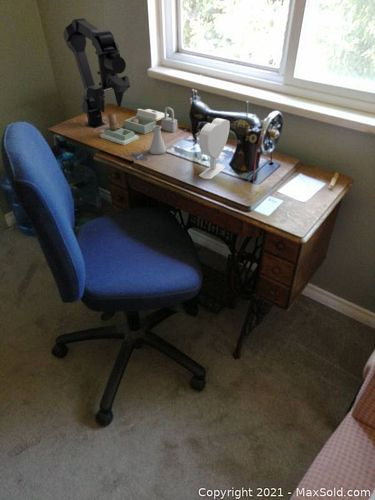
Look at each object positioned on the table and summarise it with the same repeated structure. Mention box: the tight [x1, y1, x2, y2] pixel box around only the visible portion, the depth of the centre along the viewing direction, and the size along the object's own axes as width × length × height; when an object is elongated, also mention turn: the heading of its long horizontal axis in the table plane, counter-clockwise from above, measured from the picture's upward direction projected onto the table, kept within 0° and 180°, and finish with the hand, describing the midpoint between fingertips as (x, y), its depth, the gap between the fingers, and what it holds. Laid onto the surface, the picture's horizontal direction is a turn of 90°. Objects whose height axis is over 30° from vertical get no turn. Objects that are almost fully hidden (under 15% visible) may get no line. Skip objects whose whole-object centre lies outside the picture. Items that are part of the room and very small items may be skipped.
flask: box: [148, 125, 168, 155], centre depth 147 cm, size 7×7×10 cm
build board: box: [99, 126, 140, 146], centre depth 160 cm, size 14×9×3 cm, turn 53°
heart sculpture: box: [198, 117, 231, 180], centre depth 132 cm, size 16×5×18 cm, turn 148°
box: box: [123, 115, 158, 135], centre depth 168 cm, size 12×8×4 cm, turn 53°
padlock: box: [160, 106, 178, 133], centre depth 166 cm, size 7×4×10 cm, turn 52°
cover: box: [135, 108, 170, 122], centre depth 171 cm, size 12×8×3 cm
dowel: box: [107, 113, 118, 132], centre depth 159 cm, size 3×3×8 cm
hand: (111, 109), depth 155 cm, fingers open, 9 cm apart
